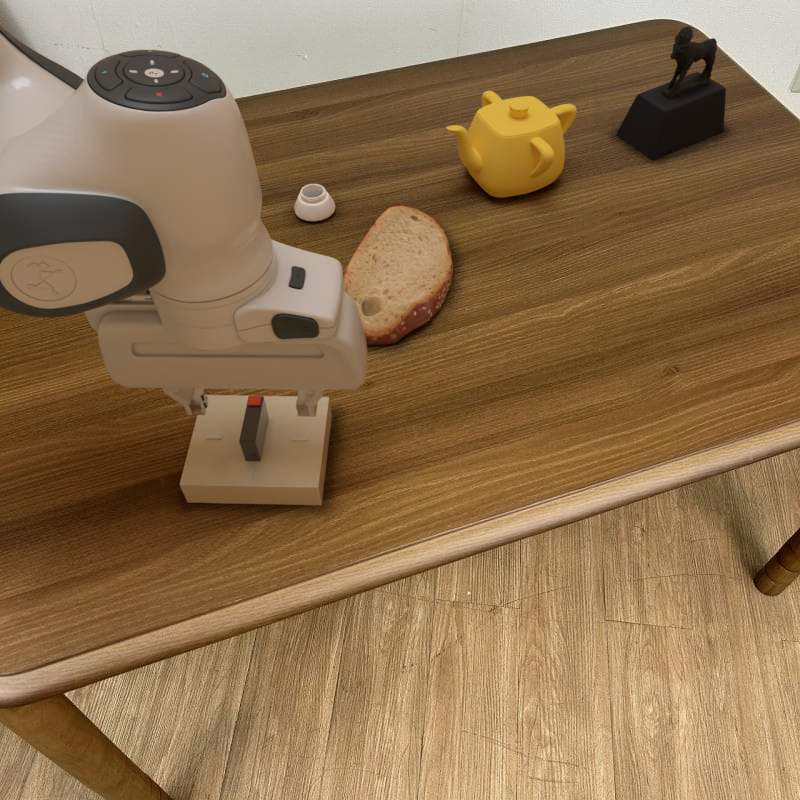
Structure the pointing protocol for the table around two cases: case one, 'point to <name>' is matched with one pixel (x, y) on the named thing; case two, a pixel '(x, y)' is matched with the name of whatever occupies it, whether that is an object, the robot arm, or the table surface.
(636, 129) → the sculpture
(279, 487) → the panel
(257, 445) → the red-tipped dark block
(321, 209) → the lidless jar
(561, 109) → the teapot
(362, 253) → the slice of bread
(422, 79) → the table surface
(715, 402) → the table surface
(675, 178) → the table surface
